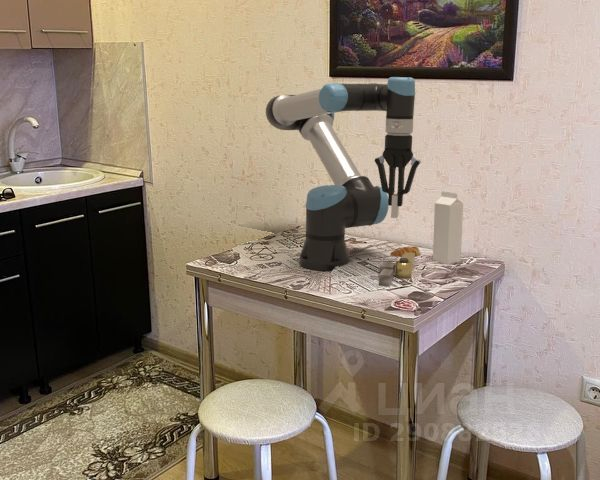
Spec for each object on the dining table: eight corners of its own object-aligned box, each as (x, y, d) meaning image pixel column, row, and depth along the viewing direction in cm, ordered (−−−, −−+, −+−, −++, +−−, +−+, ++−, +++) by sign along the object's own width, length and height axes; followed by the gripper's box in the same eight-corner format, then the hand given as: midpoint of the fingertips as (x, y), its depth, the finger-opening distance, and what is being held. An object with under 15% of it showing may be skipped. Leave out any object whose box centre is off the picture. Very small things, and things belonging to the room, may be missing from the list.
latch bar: (409, 279, 182) (410, 265, 181) (393, 277, 184) (394, 263, 183) (416, 266, 195) (417, 253, 194) (401, 264, 196) (402, 251, 195)
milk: (447, 267, 198) (450, 194, 193) (432, 263, 202) (434, 192, 198) (460, 264, 201) (464, 192, 197) (445, 260, 206) (448, 190, 201)
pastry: (395, 262, 204) (396, 250, 203) (385, 257, 210) (386, 245, 209) (422, 260, 207) (423, 248, 206) (411, 255, 213) (412, 243, 212)
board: (365, 289, 177) (366, 267, 175) (382, 266, 199) (383, 246, 197) (430, 297, 172) (431, 274, 170) (439, 272, 194) (441, 251, 192)
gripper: (372, 134, 183) (369, 217, 189) (419, 136, 179) (414, 221, 184) (379, 132, 190) (375, 212, 195) (424, 134, 185) (419, 216, 191)
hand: (394, 217), depth 190 cm, fingers closed
